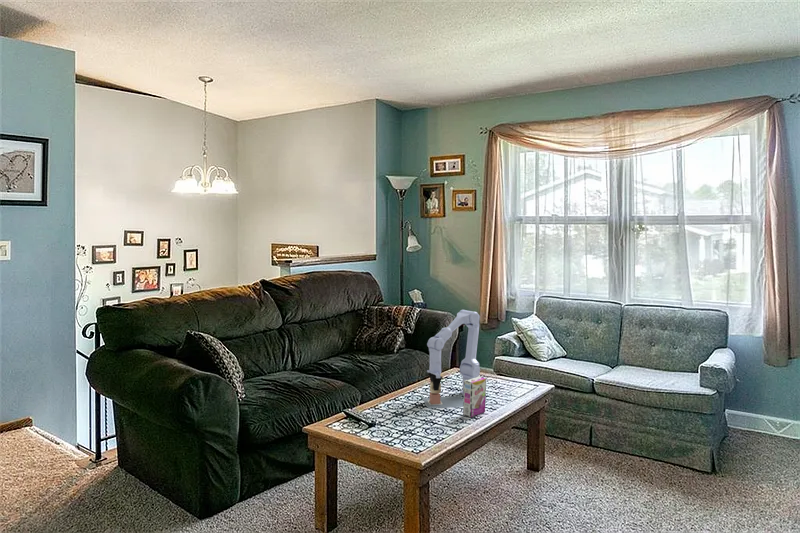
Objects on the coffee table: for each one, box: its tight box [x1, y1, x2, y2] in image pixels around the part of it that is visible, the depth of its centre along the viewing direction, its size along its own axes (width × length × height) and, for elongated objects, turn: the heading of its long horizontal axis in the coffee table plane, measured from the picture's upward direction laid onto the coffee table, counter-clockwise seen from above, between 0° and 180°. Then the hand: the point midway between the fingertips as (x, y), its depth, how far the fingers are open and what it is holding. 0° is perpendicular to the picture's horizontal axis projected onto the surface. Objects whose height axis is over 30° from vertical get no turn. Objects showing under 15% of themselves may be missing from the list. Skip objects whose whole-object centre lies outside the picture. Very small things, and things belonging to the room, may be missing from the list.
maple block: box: [429, 381, 442, 394], centre depth 272 cm, size 4×4×4 cm
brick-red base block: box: [429, 391, 441, 404], centre depth 273 cm, size 4×4×4 cm
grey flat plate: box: [421, 395, 464, 409], centre depth 274 cm, size 20×16×1 cm
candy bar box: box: [462, 376, 487, 418], centre depth 257 cm, size 11×5×16 cm, turn 134°
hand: (435, 388), depth 272 cm, fingers closed on maple block, 4 cm apart
